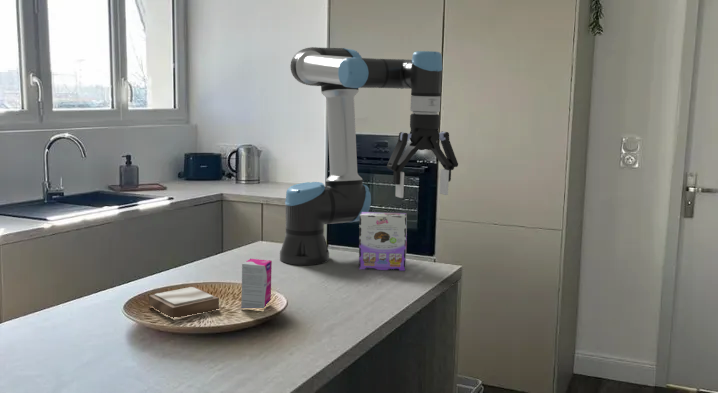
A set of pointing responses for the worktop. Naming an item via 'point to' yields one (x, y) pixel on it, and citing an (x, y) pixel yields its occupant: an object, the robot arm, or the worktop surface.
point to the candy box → (382, 241)
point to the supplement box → (256, 283)
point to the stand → (184, 302)
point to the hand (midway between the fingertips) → (421, 195)
